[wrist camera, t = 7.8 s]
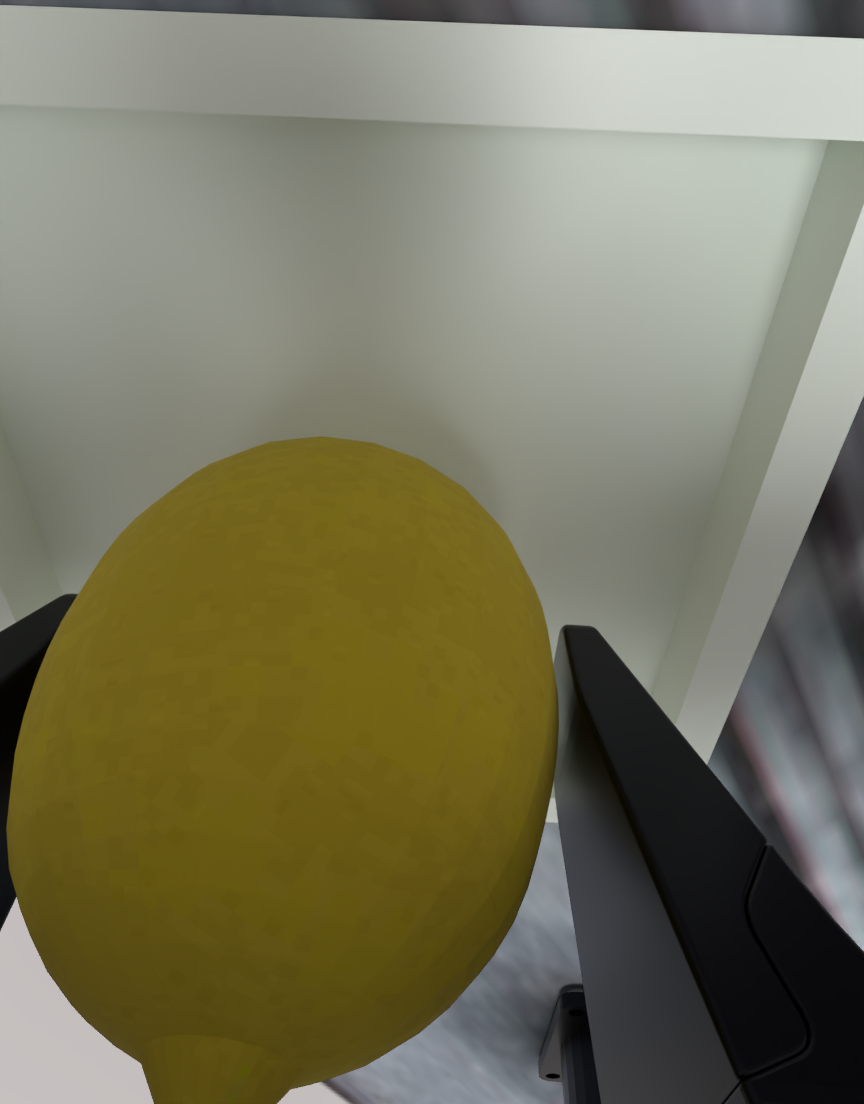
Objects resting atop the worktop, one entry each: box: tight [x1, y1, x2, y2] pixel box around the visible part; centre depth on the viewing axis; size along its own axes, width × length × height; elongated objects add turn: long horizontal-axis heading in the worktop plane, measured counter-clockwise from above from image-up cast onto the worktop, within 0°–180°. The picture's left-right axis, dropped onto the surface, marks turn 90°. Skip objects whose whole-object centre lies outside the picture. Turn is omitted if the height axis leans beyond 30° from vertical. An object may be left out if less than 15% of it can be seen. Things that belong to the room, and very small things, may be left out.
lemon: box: [6, 436, 559, 1104], centre depth 8 cm, size 6×6×8 cm
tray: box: [0, 5, 864, 823], centre depth 11 cm, size 13×13×2 cm
